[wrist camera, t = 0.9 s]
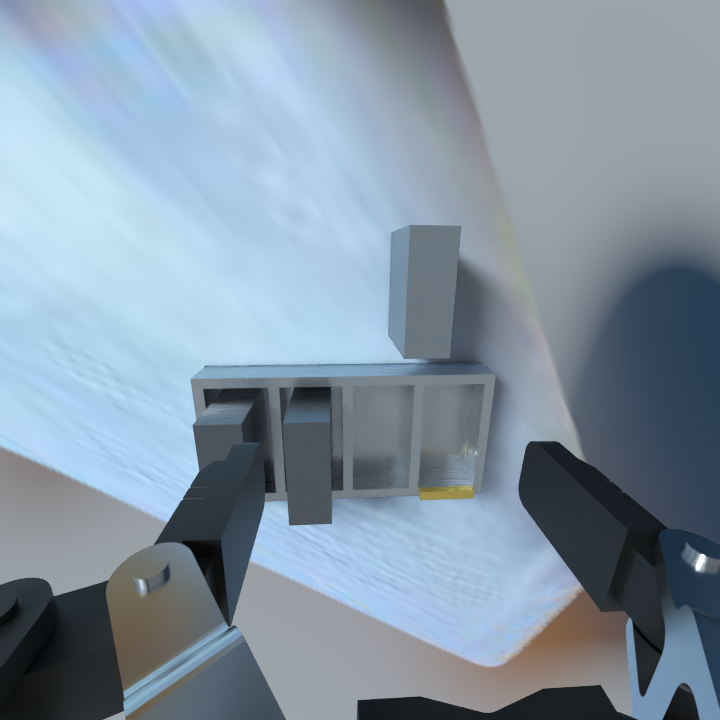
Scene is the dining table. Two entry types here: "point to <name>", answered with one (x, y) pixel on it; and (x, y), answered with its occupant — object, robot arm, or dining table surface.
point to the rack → (350, 429)
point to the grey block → (423, 289)
